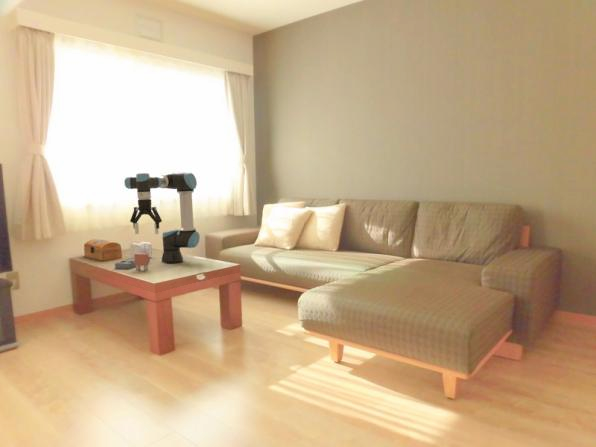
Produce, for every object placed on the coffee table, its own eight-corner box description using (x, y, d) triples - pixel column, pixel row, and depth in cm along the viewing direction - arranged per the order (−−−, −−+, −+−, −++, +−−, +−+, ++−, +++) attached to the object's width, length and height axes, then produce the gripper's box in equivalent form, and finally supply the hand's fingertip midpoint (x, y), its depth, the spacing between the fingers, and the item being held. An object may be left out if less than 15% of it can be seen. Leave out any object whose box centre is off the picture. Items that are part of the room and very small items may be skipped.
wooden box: (83, 257, 325) (81, 240, 323) (104, 254, 338) (102, 237, 336) (101, 262, 306) (99, 243, 304) (122, 258, 318) (121, 240, 317)
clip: (137, 269, 279) (136, 253, 278) (148, 269, 277) (147, 253, 276) (135, 270, 277) (134, 254, 275) (146, 270, 275) (145, 254, 273)
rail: (136, 261, 306) (136, 256, 306) (149, 261, 303) (149, 256, 303) (115, 268, 283) (114, 263, 282) (129, 268, 280) (129, 263, 280)
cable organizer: (130, 257, 320) (129, 242, 318) (142, 255, 328) (141, 241, 326) (140, 260, 310) (139, 244, 309) (153, 257, 318) (152, 242, 317)
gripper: (122, 199, 248) (125, 234, 250) (159, 199, 242) (161, 235, 244) (130, 198, 255) (132, 232, 257) (166, 198, 249) (168, 233, 252)
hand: (146, 234), depth 251 cm, fingers open, 13 cm apart
